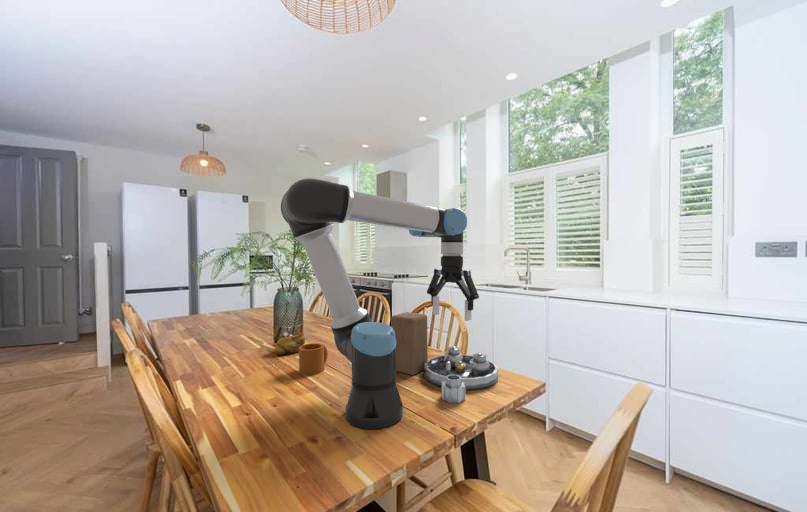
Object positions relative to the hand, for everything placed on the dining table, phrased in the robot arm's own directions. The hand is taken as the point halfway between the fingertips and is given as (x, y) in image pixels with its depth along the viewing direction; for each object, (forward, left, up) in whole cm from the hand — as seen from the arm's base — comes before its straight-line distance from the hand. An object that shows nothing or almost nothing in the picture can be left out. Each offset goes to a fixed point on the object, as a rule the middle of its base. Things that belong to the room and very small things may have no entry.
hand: (451, 317), depth 115 cm
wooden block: (-6, +15, -21) cm, 26 cm away
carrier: (+3, -2, -20) cm, 21 cm away
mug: (-31, +39, -21) cm, 54 cm away
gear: (-13, -11, -20) cm, 26 cm away
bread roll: (-29, +67, -21) cm, 76 cm away
